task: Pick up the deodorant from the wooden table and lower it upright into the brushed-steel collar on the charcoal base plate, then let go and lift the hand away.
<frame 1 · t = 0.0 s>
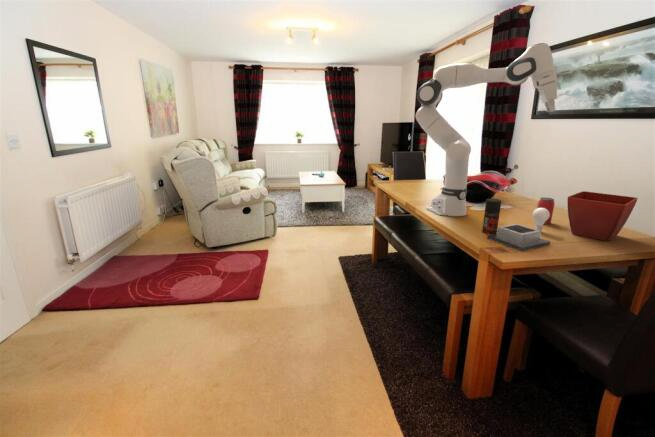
hand: (551, 111, 144), 52 cm above the table, tool tilted 20°, fingers open, 8 cm apart
deodorant: (489, 233, 143), on the table
lightbulb: (537, 231, 144), on the table
collar holder: (517, 241, 132), on the table
beer can: (542, 222, 157), on the table
plant pot: (593, 235, 139), on the table
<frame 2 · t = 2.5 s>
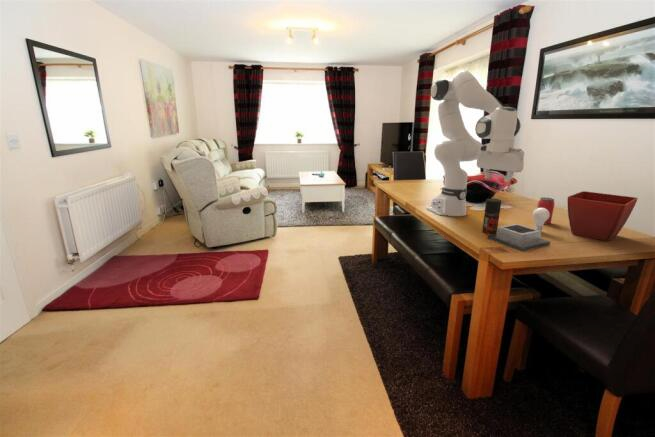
hand: (496, 180, 136), 24 cm above the table, tool pointing down, fingers open, 8 cm apart
nothing on the table moved.
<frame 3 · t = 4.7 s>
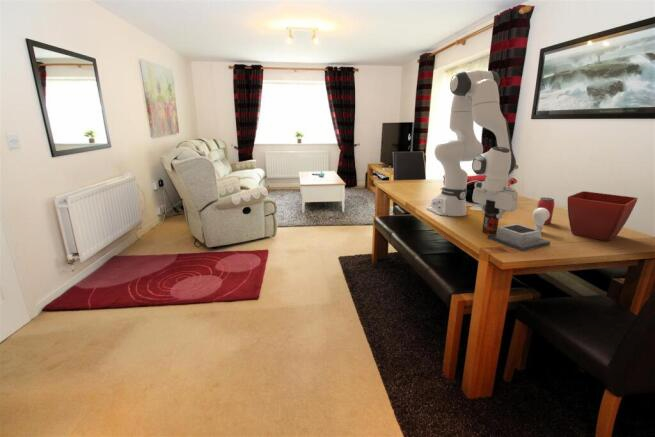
hand: (491, 216, 141), 8 cm above the table, tool pointing down, fingers closed on deodorant, 6 cm apart
deodorant: (489, 233, 143), on the table, touching gripper
everything else where it was.
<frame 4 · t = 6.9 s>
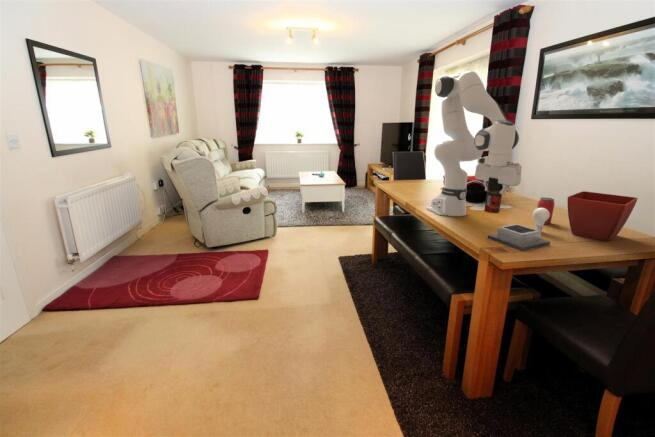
hand: (494, 192, 138), 18 cm above the table, tool pointing down, fingers closed on deodorant, 6 cm apart
deodorant: (491, 211, 141), point 10 cm above the table, touching gripper
everything else where it was.
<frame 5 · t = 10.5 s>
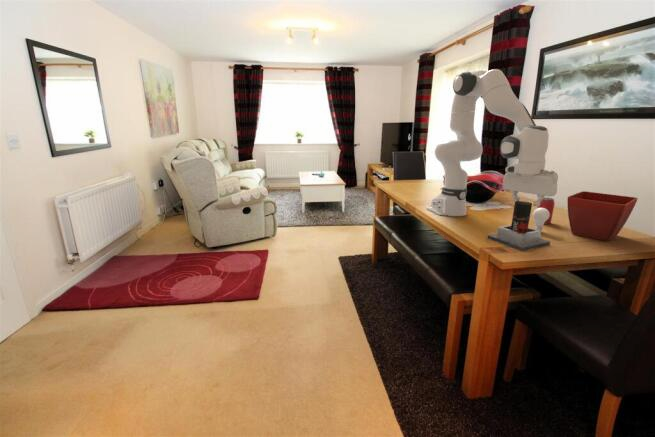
hand: (525, 203, 127), 16 cm above the table, tool pointing down, fingers open, 7 cm apart
deodorant: (517, 238, 132), point 1 cm above the table, touching collar holder, gripper
everything else where it was.
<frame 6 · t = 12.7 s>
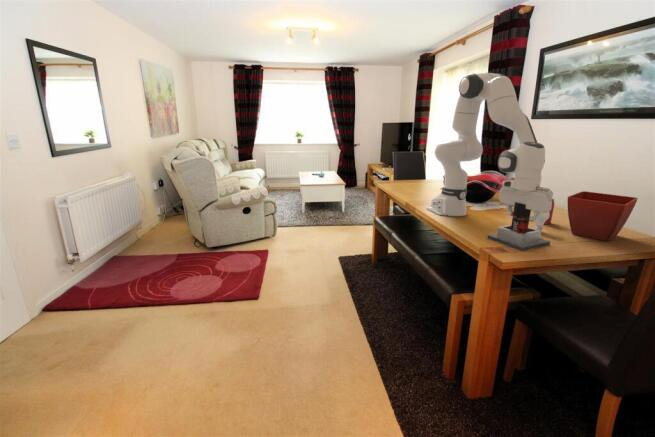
hand: (521, 218, 129), 10 cm above the table, tool pointing down, fingers open, 8 cm apart
deodorant: (517, 238, 132), point 1 cm above the table, touching collar holder
everything else where it was.
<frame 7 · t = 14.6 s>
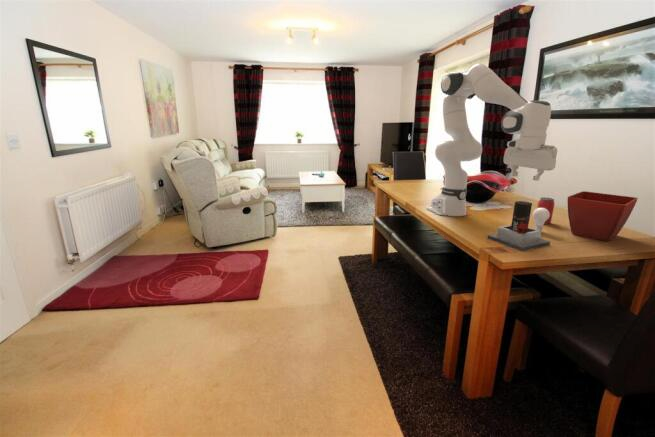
hand: (524, 178, 130), 26 cm above the table, tool pointing down, fingers open, 8 cm apart
nothing on the table moved.
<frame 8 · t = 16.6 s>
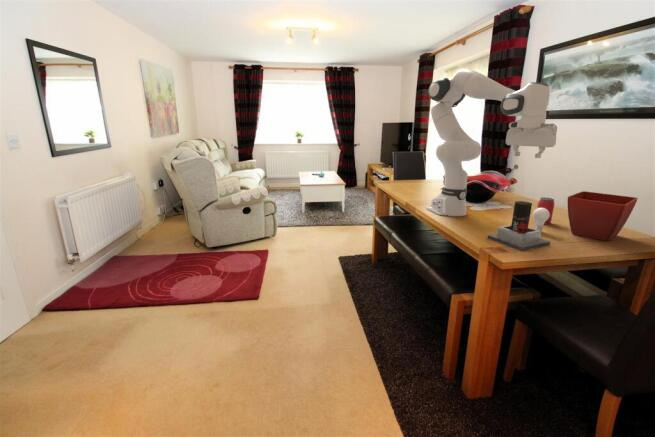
hand: (526, 157, 137), 33 cm above the table, tool pointing down, fingers open, 8 cm apart
nothing on the table moved.
at the end: deodorant 0.1 cm off-centre on the collar holder, point 1.3 cm above the collar holder's base; deodorant tilted 0°; the gripper is holding nothing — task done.
